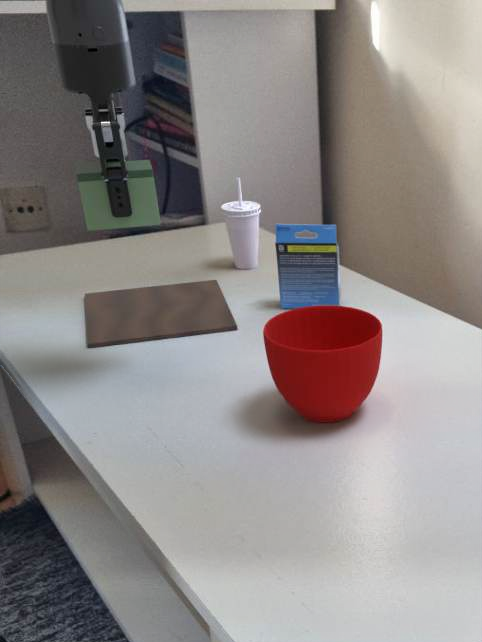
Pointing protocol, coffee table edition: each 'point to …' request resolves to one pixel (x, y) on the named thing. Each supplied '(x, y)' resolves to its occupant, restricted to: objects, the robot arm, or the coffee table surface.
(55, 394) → the coffee table surface
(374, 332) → the ceramic cup
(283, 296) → the label tape box
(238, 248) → the smoothie
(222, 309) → the walnut board
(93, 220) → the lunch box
